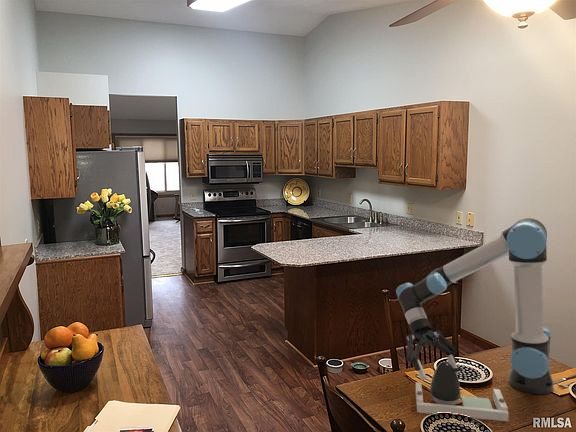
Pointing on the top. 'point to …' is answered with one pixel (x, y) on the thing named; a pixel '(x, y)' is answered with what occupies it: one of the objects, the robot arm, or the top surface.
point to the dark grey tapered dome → (445, 384)
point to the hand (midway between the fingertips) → (440, 376)
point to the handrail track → (467, 406)
